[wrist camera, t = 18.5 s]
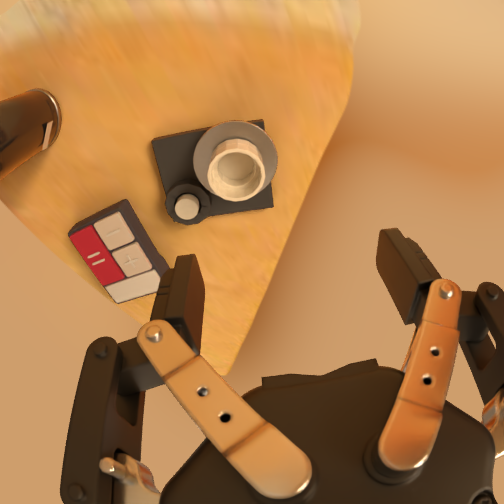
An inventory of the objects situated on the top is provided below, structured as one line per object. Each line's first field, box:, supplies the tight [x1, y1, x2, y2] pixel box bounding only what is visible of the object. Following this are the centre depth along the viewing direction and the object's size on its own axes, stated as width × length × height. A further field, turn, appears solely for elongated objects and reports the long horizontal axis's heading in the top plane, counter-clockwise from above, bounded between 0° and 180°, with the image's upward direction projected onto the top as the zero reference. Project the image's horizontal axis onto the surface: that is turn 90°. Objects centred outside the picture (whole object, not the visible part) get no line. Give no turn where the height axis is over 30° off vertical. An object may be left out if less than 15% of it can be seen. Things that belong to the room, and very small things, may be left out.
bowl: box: [207, 139, 265, 202], centre depth 33 cm, size 6×6×4 cm
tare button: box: [175, 194, 199, 220], centre depth 39 cm, size 3×3×2 cm
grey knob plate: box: [152, 119, 274, 225], centre depth 38 cm, size 14×12×3 cm
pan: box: [193, 120, 278, 196], centre depth 36 cm, size 10×10×1 cm
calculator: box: [68, 199, 170, 304], centre depth 44 cm, size 11×4×15 cm
